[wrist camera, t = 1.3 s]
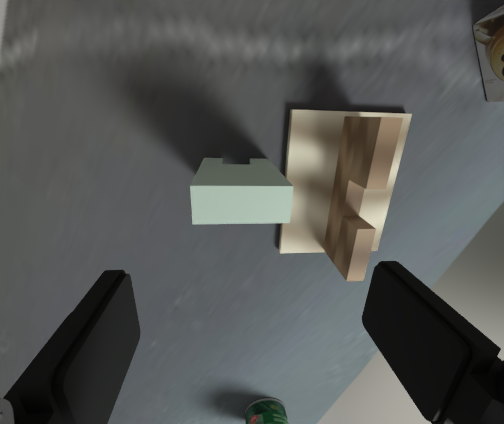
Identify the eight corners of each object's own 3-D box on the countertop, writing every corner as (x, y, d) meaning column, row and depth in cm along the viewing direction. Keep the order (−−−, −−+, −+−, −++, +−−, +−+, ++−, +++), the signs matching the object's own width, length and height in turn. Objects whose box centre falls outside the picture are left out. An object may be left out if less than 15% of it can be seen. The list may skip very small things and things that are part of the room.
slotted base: (290, 109, 27) (314, 107, 20) (406, 113, 29) (468, 113, 21) (278, 249, 34) (293, 287, 27) (373, 247, 35) (412, 282, 28)
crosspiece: (204, 157, 28) (190, 185, 17) (267, 158, 29) (293, 186, 18) (205, 182, 29) (192, 224, 18) (266, 183, 30) (289, 223, 19)
